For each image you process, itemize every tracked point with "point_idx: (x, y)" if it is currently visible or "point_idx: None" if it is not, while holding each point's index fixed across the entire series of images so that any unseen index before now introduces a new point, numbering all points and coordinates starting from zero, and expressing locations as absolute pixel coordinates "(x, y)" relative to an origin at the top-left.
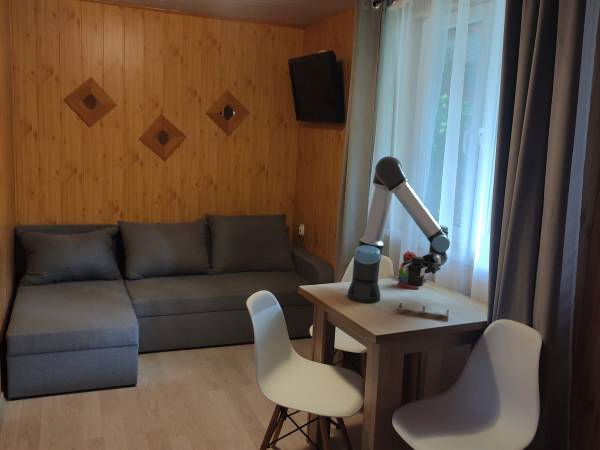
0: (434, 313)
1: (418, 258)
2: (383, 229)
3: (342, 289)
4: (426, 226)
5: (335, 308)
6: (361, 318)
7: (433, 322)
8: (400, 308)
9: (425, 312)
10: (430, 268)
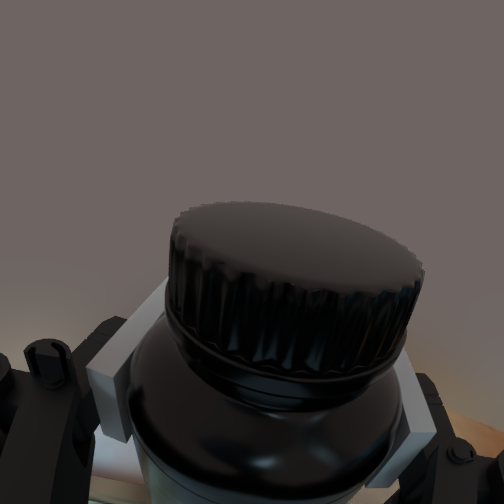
0: (91, 484)
1: (268, 203)
2: None
3: None
4: None
5: (463, 416)
6: None
7: (107, 441)
8: None
9: (138, 489)
10: (41, 383)
